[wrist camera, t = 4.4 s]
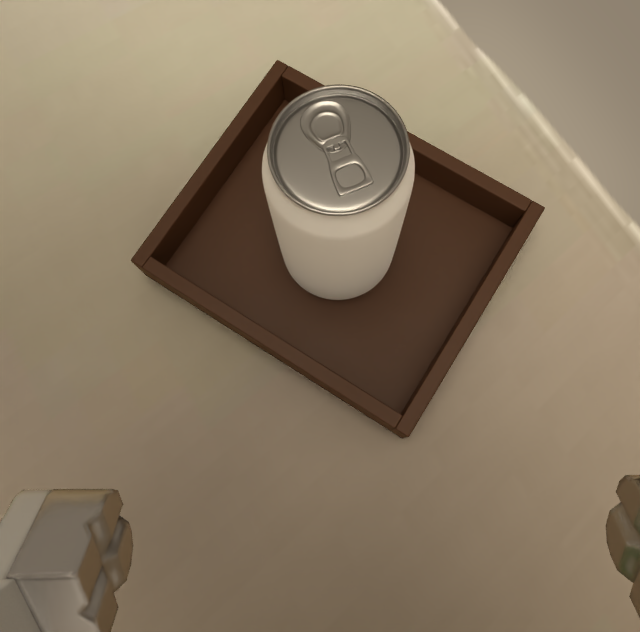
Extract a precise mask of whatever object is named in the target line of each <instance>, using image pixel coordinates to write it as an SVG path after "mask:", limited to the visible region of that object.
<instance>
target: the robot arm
mask: <svg viewBox="0 0 640 632" xmlns="http://www.w3.org/2000/svg"><path fill="white" fill-rule="evenodd" d="M616 493H617V495H618V497H619V499H620V501H621V502H620V503H619V504H618V505H617V506H615V507H614V508H613V509H611V510H610V511H609V515H608V519H607V523H606V537H607V544H608V548H609V552H610V555H611V558H612V560H613V562H614V564H615V566H616V569H617V570H618V571H619V572H620V573H621V574H623V575H624V576H625V577H626V578H628V579H629V580H630V581H631V582H633V586H632V589H631V593H630V596H629V597H630V599H631V601H632V603H633V605H634V607H635V609H636V611H637V613H638V615H639V618H640V475H625V476H624V477H623V478H622V479H621V480H620V481H619V484H618V487H617V490H616ZM122 506H123V502H122V500H121V497H120V494H119V491H118V490H114V489H53V490H22V491H21V492H20V493H19V494H18V495H16V496H15V497H14V499H13V500H12V502H11V504H10V506H9V508H8V509H7V511H6V513H5V515H4V517H3V518H2V520H1V522H0V632H111V629H112V626H113V623H114V620H115V616H116V613H117V610H118V604H117V601H116V599H115V596H114V592H115V591H116V590H117V589H119V588H120V587H121V586H122V585H123V584H124V583H125V582H126V580H127V577H128V573H129V570H130V566H131V561H132V551H133V539H132V531H131V528H130V524H129V522H128V521H126V520H125V519H124V518H122V517H121V516H120V512H121V509H122Z"/></svg>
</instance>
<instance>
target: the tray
mask: <svg viewBox="0 0 640 632" xmlns="http://www.w3.org/2000/svg"><path fill="white" fill-rule="evenodd" d="M322 86H324V85H322V84H321V83H319V82H317V81H315V80H313V79H312V78H310V77H308V76H306V75H304V74H303V73H301V72H299V71H297V70H295V69H293V68H292V67H290V66H287V65H286V64H284V63H282V62H280V61H279V60H277V61H276V62H275V64H274V65H273V66H272V68H271V69H270V70H269V72H268V73H267V75H266V76H265V77H264V79H263V80H262V81H261V83H260V84H259V85H258V87H257V88H256V90H255V91H254V92H253V94H252V95H251V96H250V98H249V99H248V101H247V102H246V103H245V105H244V106H243V107H242V109H241V110H240V111H239V113H238V114H237V116H236V117H235V118H234V120H233V121H232V122H231V124H230V125H229V127H228V128H227V129H226V131H225V132H224V133H223V135H222V136H221V137H220V139H219V140H218V142H217V143H216V144H215V146H214V147H213V148H212V150H211V151H210V153H209V154H208V155H207V157H206V158H205V159H204V161H203V162H202V163H201V165H200V166H199V168H198V169H197V170H196V172H195V173H194V174H193V176H192V177H191V178H190V180H189V181H188V183H187V184H186V185H185V187H184V188H183V189H182V191H181V192H180V194H179V195H178V196H177V198H176V199H175V200H174V202H173V203H172V204H171V206H170V207H169V209H168V210H167V211H166V213H165V214H164V215H163V217H162V218H161V220H160V221H159V222H158V224H157V225H156V226H155V228H154V229H153V230H152V232H151V233H150V235H149V236H148V237H147V239H146V240H145V241H144V243H143V244H142V246H141V247H140V248H139V250H138V251H137V252H136V254H135V255H134V256H133V258H132V259H131V261H132V262H133V263H134V264H135V265H136V266H137V267H138V268H139V269H140V270H141V271H142V272H143V273H144V274H145V275H146V276H148V277H150V278H151V279H153V280H154V281H156V282H157V283H159V284H161V285H162V286H164V287H165V288H167V289H168V290H170V291H172V292H173V293H175V294H176V295H178V296H179V297H181V298H183V299H184V300H186V301H187V302H189V303H190V304H192V305H194V306H195V307H197V308H198V309H200V310H201V311H203V312H205V313H206V314H208V315H209V316H211V317H212V318H214V319H216V320H217V321H219V322H220V323H222V324H223V325H225V326H227V327H228V328H230V329H231V330H233V331H234V332H236V333H238V334H239V335H241V336H242V337H244V338H245V339H247V340H249V341H250V342H252V343H253V344H255V345H256V346H258V347H260V348H261V349H263V350H264V351H266V352H267V353H269V354H271V355H272V356H274V357H275V358H277V359H278V360H280V361H282V362H283V363H285V364H286V365H288V366H289V367H291V368H293V369H294V370H296V371H297V372H299V373H300V374H302V375H304V376H305V377H307V378H308V379H310V380H311V381H313V382H315V383H316V384H318V385H319V386H321V387H322V388H324V389H326V390H327V391H329V392H330V393H332V394H333V395H335V396H337V397H338V398H340V399H341V400H343V401H344V402H346V403H348V404H349V405H351V406H352V407H354V408H355V409H357V410H359V411H360V412H362V413H363V414H365V415H366V416H368V417H370V418H371V419H373V420H374V421H376V422H377V423H379V424H381V425H382V426H384V427H385V428H387V429H388V430H390V431H392V432H393V433H395V434H396V435H398V436H399V437H401V438H405V437H409V436H410V434H411V432H412V431H413V429H414V427H415V426H416V424H417V422H418V421H419V419H420V417H421V415H422V414H423V412H424V410H425V409H426V407H427V405H428V404H429V402H430V400H431V399H432V397H433V395H434V394H435V392H436V390H437V389H438V387H439V385H440V384H441V382H442V380H443V379H444V377H445V375H446V374H447V372H448V370H449V369H450V367H451V365H452V363H453V362H454V360H455V358H456V357H457V355H458V353H459V352H460V350H461V348H462V347H463V345H464V343H465V342H466V340H467V338H468V337H469V335H470V333H471V332H472V330H473V328H474V327H475V325H476V323H477V322H478V320H479V318H480V316H481V315H482V313H483V311H484V310H485V308H486V306H487V305H488V303H489V301H490V300H491V298H492V296H493V295H494V293H495V291H496V290H497V288H498V286H499V285H500V283H501V281H502V280H503V278H504V276H505V275H506V273H507V271H508V269H509V268H510V266H511V264H512V263H513V261H514V259H515V258H516V256H517V254H518V253H519V251H520V249H521V248H522V246H523V244H524V243H525V241H526V239H527V238H528V236H529V234H530V233H531V231H532V229H533V228H534V226H535V224H536V222H537V221H538V219H539V217H540V216H541V214H542V212H543V211H544V209H545V207H543V206H541V205H539V204H538V203H536V202H534V201H532V200H530V199H529V198H527V197H525V196H523V195H521V194H520V193H518V192H516V191H514V190H512V189H511V188H509V187H507V186H505V185H503V184H502V183H500V182H498V181H496V180H494V179H492V178H491V177H489V176H487V175H485V174H483V173H482V172H480V171H478V170H476V169H474V168H473V167H471V166H469V165H467V164H465V163H464V162H462V161H460V160H458V159H456V158H454V157H453V156H451V155H449V154H447V153H445V152H444V151H442V150H440V149H438V148H436V147H435V146H433V145H431V144H429V143H427V142H426V141H424V140H422V139H420V138H418V137H417V136H415V135H413V134H411V133H409V132H407V133H408V137H409V142H410V144H411V147H412V150H413V154H414V161H415V176H414V183H413V188H412V192H411V196H410V200H409V203H408V207H407V211H406V214H405V218H404V221H403V225H402V228H401V232H400V235H399V238H398V242H397V245H396V249H395V252H394V255H393V258H392V261H391V264H390V266H389V268H388V270H387V272H386V274H385V275H384V277H383V278H382V280H381V281H380V282H379V283H378V284H377V285H376V286H375V287H373V288H372V289H371V290H369V291H368V292H366V293H364V294H362V295H360V296H357V297H354V298H350V299H345V300H331V299H325V298H321V297H318V296H316V295H313V294H311V293H309V292H308V291H306V290H305V289H303V288H302V287H301V286H300V285H299V284H298V283H297V282H296V281H295V280H294V279H293V277H292V276H291V274H290V273H289V271H288V269H287V267H286V265H285V262H284V259H283V256H282V252H281V249H280V246H279V242H278V238H277V235H276V231H275V228H274V224H273V221H272V217H271V213H270V210H269V206H268V202H267V198H266V194H265V190H264V185H263V179H262V160H263V154H264V150H265V147H266V145H267V142H268V137H269V133H270V130H271V128H272V125H273V123H274V121H275V120H276V118H277V116H278V115H279V113H280V112H281V111H282V110H283V109H284V108H285V107H286V106H287V105H288V104H289V103H290V102H291V101H292V100H294V99H295V98H296V97H298V96H300V95H301V94H303V93H305V92H307V91H309V90H312V89H315V88H318V87H322Z"/></svg>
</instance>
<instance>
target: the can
mask: <svg viewBox="0 0 640 632" xmlns="http://www.w3.org/2000/svg"><path fill="white" fill-rule="evenodd" d="M414 176H415V161H414V154H413V150H412V147H411V144H410V142H409V137H408V133H407V130H406V127H405V125H404V122H403V121H402V119H401V117H400V116H399V114H398V113H397V112H396V110H395V109H394V108H393V107H392V106H391V105H390V104H389V103H388V102H387V101H385V100H384V99H383V98H381V97H380V96H378V95H377V94H375V93H373V92H371V91H368V90H366V89H363V88H360V87H356V86H350V85H327V86H322V87H318V88H315V89H312V90H309V91H307V92H305V93H303V94H301V95H300V96H298V97H296V98H295V99H294V100H292V101H291V102H290V103H289V104H288V105H287V106H286V107H285V108H284V109H283V110H282V111H281V112H280V113H279V115H278V116H277V118H276V120H275V121H274V123H273V125H272V128H271V130H270V133H269V137H268V142H267V145H266V147H265V150H264V154H263V160H262V179H263V185H264V190H265V194H266V198H267V202H268V206H269V210H270V213H271V217H272V221H273V224H274V228H275V231H276V235H277V238H278V242H279V246H280V249H281V252H282V256H283V259H284V262H285V265H286V267H287V269H288V271H289V273H290V274H291V276H292V277H293V279H294V280H295V281H296V282H297V283H298V284H299V285H300V286H301V287H302V288H303V289H305V290H306V291H308V292H309V293H311V294H313V295H316V296H318V297H321V298H325V299H331V300H345V299H350V298H354V297H357V296H360V295H362V294H364V293H366V292H368V291H369V290H371V289H372V288H373V287H375V286H376V285H377V284H378V283H379V282H380V281H381V280H382V278H383V277H384V275H385V274H386V272H387V270H388V268H389V266H390V264H391V261H392V258H393V255H394V252H395V249H396V245H397V242H398V238H399V235H400V232H401V228H402V225H403V221H404V218H405V214H406V211H407V207H408V203H409V200H410V196H411V192H412V188H413V183H414Z"/></svg>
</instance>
